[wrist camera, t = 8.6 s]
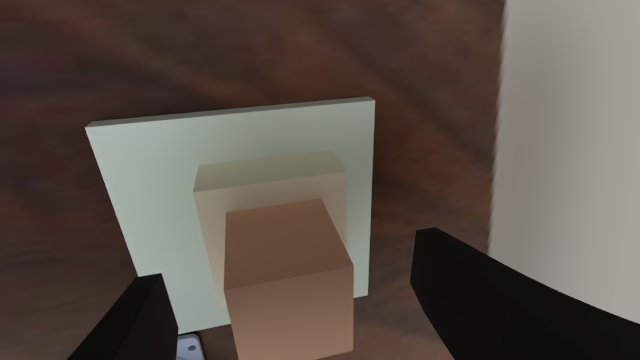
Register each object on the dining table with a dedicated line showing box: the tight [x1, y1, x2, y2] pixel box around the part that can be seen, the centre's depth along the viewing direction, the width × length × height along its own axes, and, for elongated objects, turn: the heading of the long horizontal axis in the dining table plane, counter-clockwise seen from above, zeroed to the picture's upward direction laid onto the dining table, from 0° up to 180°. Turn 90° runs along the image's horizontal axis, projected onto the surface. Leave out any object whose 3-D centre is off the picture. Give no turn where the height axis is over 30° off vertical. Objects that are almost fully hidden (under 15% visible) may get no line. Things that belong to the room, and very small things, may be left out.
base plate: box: [85, 96, 375, 334], centre depth 19 cm, size 14×14×4 cm
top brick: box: [224, 199, 354, 360], centre depth 15 cm, size 4×4×5 cm
